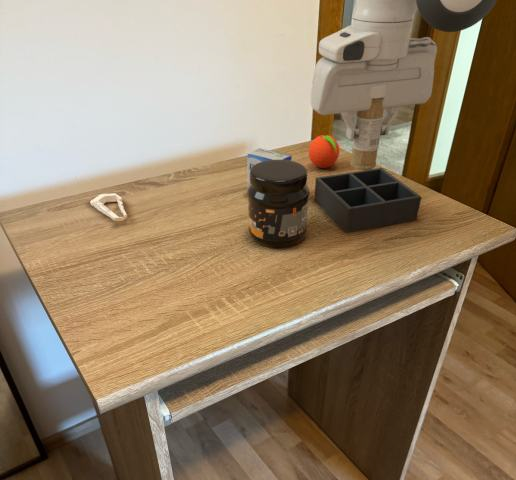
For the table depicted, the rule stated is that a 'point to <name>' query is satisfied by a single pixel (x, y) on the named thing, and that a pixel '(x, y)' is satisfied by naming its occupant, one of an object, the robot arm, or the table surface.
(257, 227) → the supplement container
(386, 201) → the rack
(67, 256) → the table surface
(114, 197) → the cream triangular ring
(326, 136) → the clementine
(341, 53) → the robot arm
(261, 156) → the medicine box
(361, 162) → the sprinkles bottle
